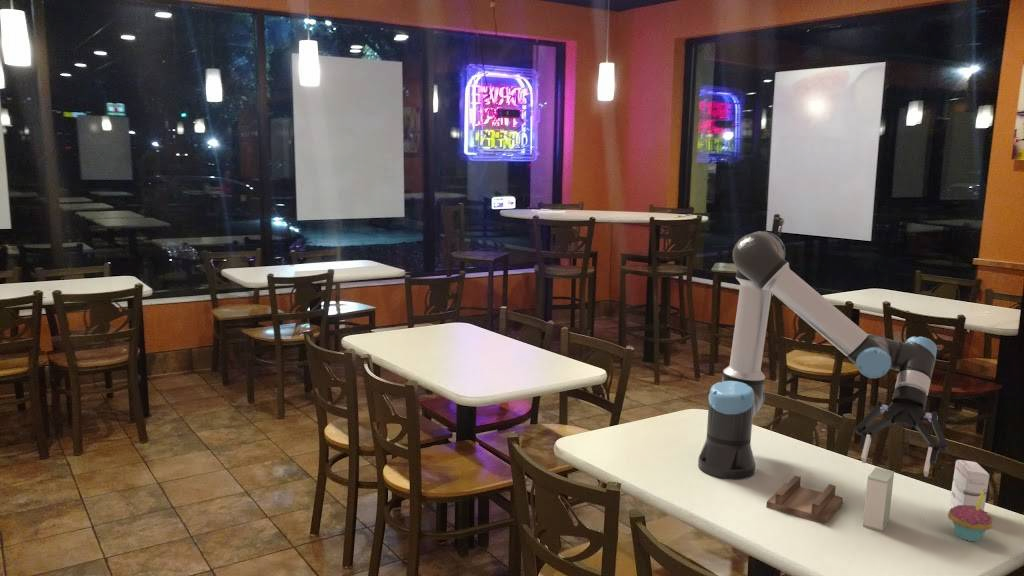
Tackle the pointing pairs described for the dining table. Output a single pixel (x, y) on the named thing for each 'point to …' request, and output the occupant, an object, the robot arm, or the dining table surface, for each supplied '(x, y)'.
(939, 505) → the dining table surface
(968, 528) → the cupcake
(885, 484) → the sage box
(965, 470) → the white rectangular block
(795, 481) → the walnut rack
